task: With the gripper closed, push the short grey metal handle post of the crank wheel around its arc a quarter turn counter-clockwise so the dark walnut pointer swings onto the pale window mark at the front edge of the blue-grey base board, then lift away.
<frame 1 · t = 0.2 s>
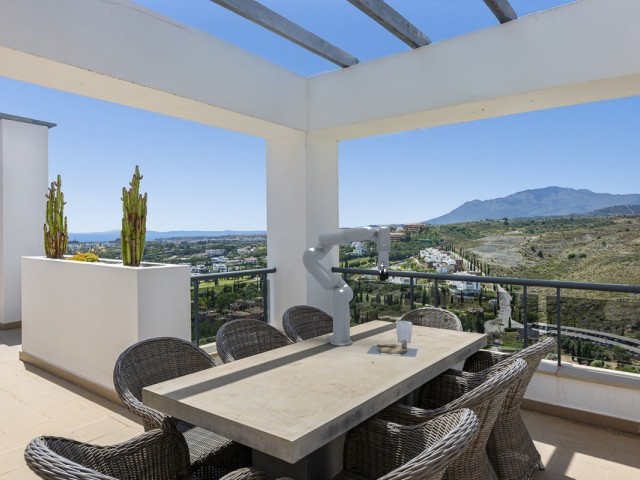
hand: (384, 280, 236), 36 cm above the table, tool pointing down, fingers open, 9 cm apart
cup: (404, 343, 243), on the table
blue-grey base board: (392, 353, 220), on the table
crank wheel: (391, 344, 220), point 5 cm above the table, hinge at 0.0°
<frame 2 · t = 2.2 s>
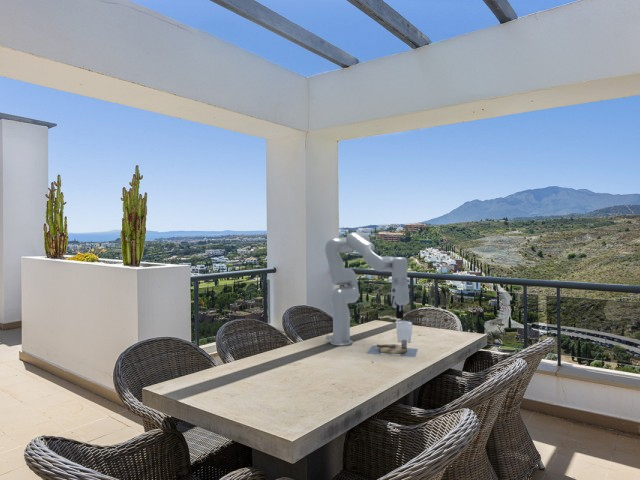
hand: (399, 318, 215), 19 cm above the table, tool pointing down, fingers closed
nothing on the table moved.
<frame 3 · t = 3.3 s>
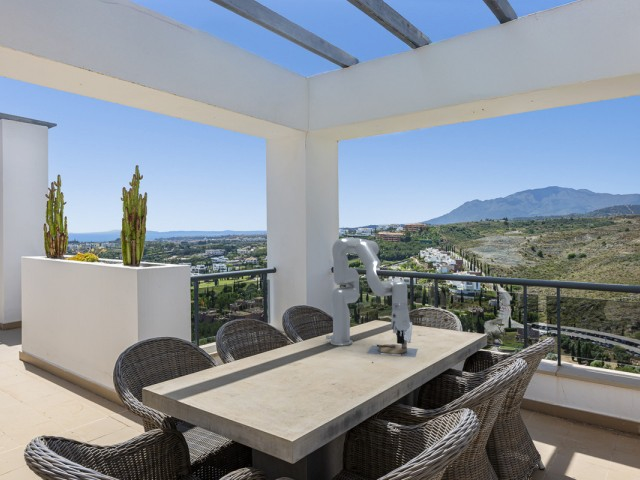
hand: (400, 343, 214), 7 cm above the table, tool pointing down, fingers closed
nothing on the table moved.
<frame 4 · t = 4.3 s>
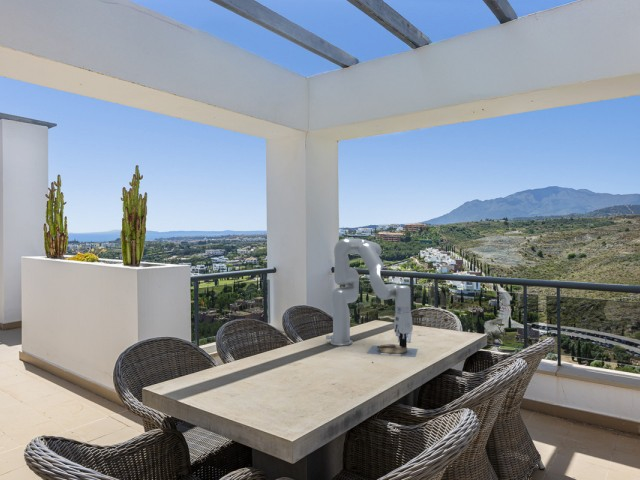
hand: (403, 346, 217), 5 cm above the table, tool pointing down, fingers closed
crank wheel: (391, 345, 220), point 5 cm above the table, hinge at 20.6°, touching gripper
everything else where it was.
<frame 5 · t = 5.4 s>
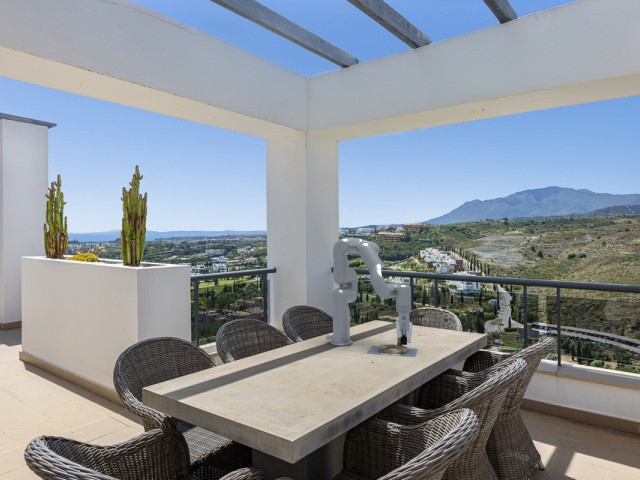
hand: (403, 344, 221), 5 cm above the table, tool pointing down, fingers closed
crank wheel: (392, 345, 220), point 5 cm above the table, hinge at 59.0°, touching gripper
everything else where it was.
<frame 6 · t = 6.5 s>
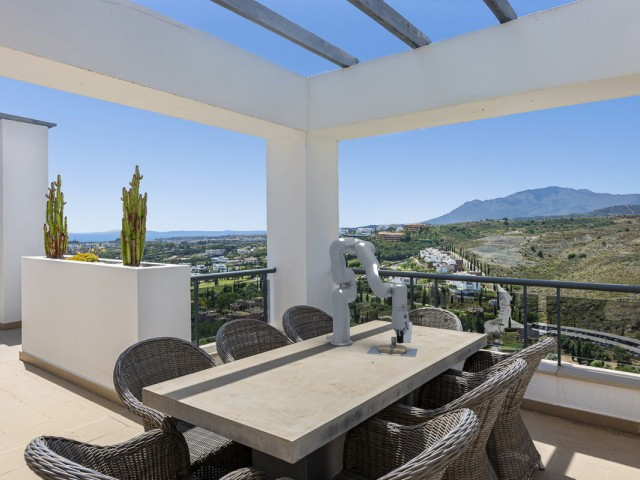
hand: (400, 342, 224), 5 cm above the table, tool pointing down, fingers closed
crank wheel: (392, 345, 219), point 5 cm above the table, hinge at 92.4°, touching gripper
everything else where it was.
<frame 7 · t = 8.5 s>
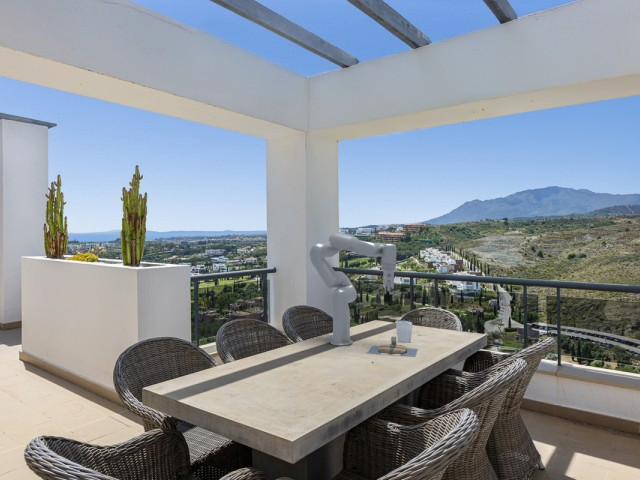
hand: (387, 301, 228), 26 cm above the table, tool pointing down, fingers closed
crank wheel: (392, 345, 219), point 5 cm above the table, hinge at 92.5°
everything else where it was.
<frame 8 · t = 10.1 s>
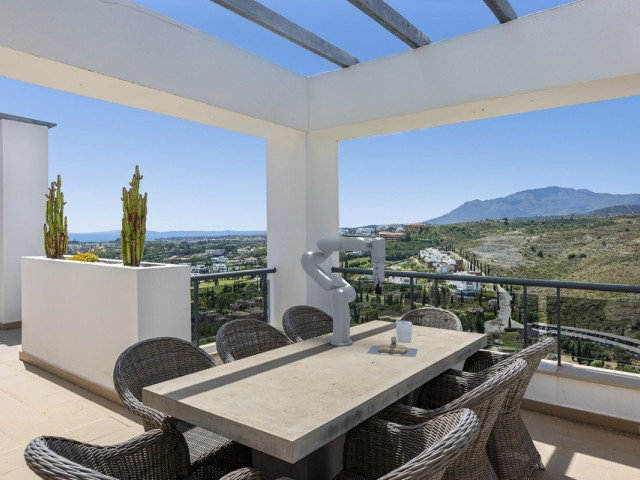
hand: (378, 294, 232), 29 cm above the table, tool pointing down, fingers closed
nothing on the table moved.
at the end: crank wheel at +92° (first picture: +0°) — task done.
